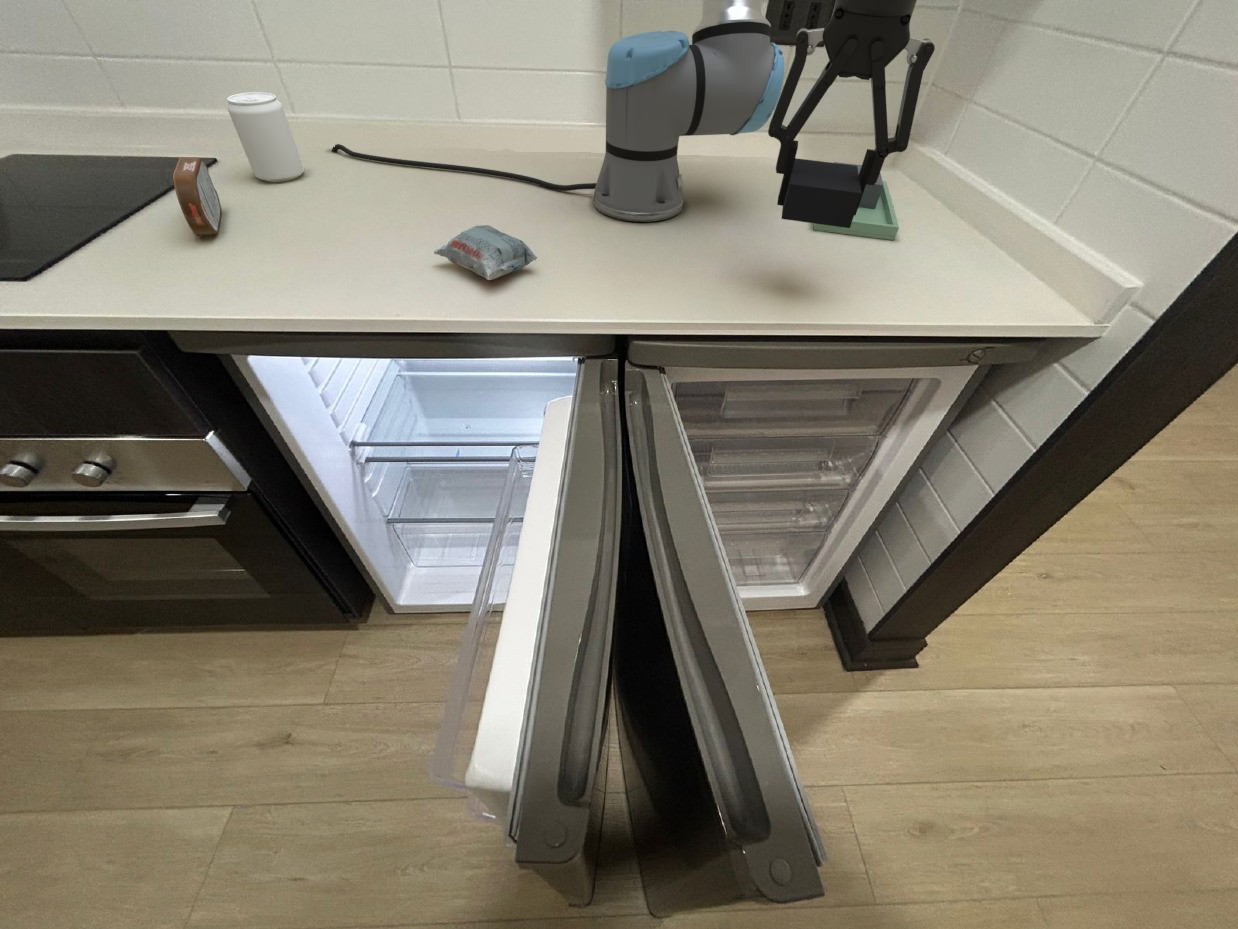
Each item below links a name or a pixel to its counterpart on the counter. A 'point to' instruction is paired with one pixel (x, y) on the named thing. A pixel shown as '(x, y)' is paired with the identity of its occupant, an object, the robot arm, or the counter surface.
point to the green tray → (871, 220)
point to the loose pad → (822, 193)
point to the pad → (870, 191)
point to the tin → (197, 196)
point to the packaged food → (487, 252)
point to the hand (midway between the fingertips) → (816, 205)
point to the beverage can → (265, 136)
